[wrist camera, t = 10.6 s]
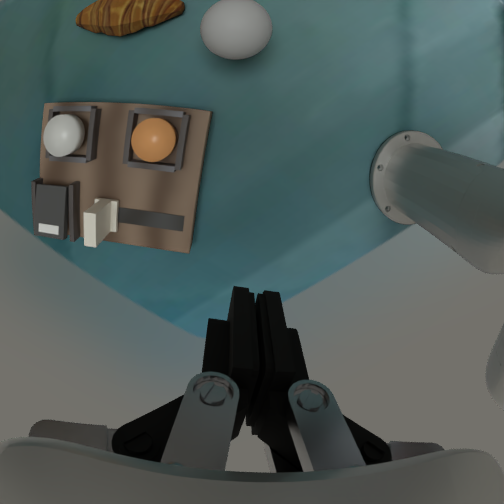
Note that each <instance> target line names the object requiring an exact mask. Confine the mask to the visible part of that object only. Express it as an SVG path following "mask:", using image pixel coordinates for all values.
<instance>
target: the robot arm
mask: <svg viewBox="0 0 504 504" xmlns="http://www.w3.org/2000/svg"><path fill="white" fill-rule="evenodd" d="M378 165H379V167H378ZM377 167H378V168H377ZM370 187H371V192H372V196H373V198H374V201H375V203H376V205H377V206H378V208H379V209H380V211H381V212H382V213H383V214H384V215H385V216H387V217H388V218H389V219H391V220H393V221H395V222H397V223H400V224H407V225H411V224H416V223H417V224H419V225H420V226H421V227H423V228H424V229H425V230H427V231H428V232H430V233H431V234H432V235H434V236H435V237H436V238H438V239H439V240H440V241H442V242H443V243H444V244H446V245H447V246H448V247H450V248H451V249H452V250H453V251H455V252H456V253H457V254H459V255H460V256H461V257H462V258H464V259H465V260H466V261H468V262H469V263H470V264H471V265H473V266H474V267H476V268H477V269H478V270H480V271H482V272H485V273H489V274H503V273H504V169H502V168H499V167H496V166H493V165H490V164H487V163H485V162H482V161H479V160H475V159H472V158H469V157H466V156H463V155H459V154H456V153H453V152H449V151H446V150H443V149H442V147H441V146H440V144H439V143H438V142H437V141H436V140H435V139H434V138H433V137H431V136H429V135H428V134H426V133H423V132H419V131H413V130H409V131H402V132H399V133H396V134H394V135H393V136H391V137H389V138H388V139H387V140H386V141H385V142H384V143H383V144H382V146H381V147H380V148H379V149H378V151H377V153H376V155H375V157H374V160H373V163H372V166H371V173H370ZM486 385H487V389H488V391H489V393H490V395H491V397H492V399H493V400H494V402H495V403H496V404H497V405H498V406H499V407H500V408H501V409H502V410H503V411H504V324H503V326H502V329H501V331H500V333H499V335H498V338H497V340H496V342H495V344H494V346H493V349H492V351H491V353H490V356H489V359H488V362H487V366H486ZM245 415H246V425H247V426H251V427H252V435H258V438H260V439H261V440H262V441H263V442H265V443H264V450H265V454H266V457H267V461H268V465H269V468H270V473H257V472H256V473H255V472H234V471H225V466H226V462H227V457H228V452H229V447H230V442H231V440H233V439H234V438H236V437H237V436H238V435H239V431H240V429H241V426H242V424H243V421H244V418H245ZM0 504H504V471H503V470H502V468H501V466H500V465H499V463H498V462H497V460H496V459H495V458H494V457H493V456H492V455H490V454H489V453H487V452H484V451H480V450H474V449H449V450H444V449H443V448H442V446H440V445H438V444H436V443H424V442H399V441H390V442H389V443H386V442H384V441H383V440H382V439H381V438H379V437H377V436H376V435H374V434H373V433H371V432H369V431H368V430H366V429H365V428H363V427H361V426H359V425H358V424H357V423H355V422H353V421H352V420H350V419H349V418H347V417H345V416H344V415H343V414H342V413H341V411H340V408H339V406H338V404H337V402H336V400H335V398H334V396H333V394H332V392H331V391H330V389H329V388H327V387H326V386H325V385H323V384H321V383H320V382H317V381H313V380H309V377H308V373H307V369H306V364H305V360H304V356H303V352H302V348H301V343H300V339H299V335H298V332H297V330H296V329H293V328H287V326H286V322H285V317H284V312H283V307H282V302H281V297H280V293H279V292H273V291H266V290H264V292H263V294H259V293H258V295H257V298H256V303H255V299H254V293H251V292H249V288H244V287H237V286H234V287H233V291H232V297H231V302H230V308H229V313H228V319H227V321H225V320H218V319H211V318H209V319H208V327H207V334H206V342H205V350H204V358H203V367H202V373H200V374H197V375H196V376H194V377H193V378H192V379H191V380H190V382H189V383H188V386H187V389H186V391H185V394H184V395H182V396H180V397H178V398H177V399H175V400H173V401H171V402H169V403H167V404H165V405H163V406H161V407H159V408H157V409H155V410H153V411H152V412H150V413H147V414H145V415H143V416H141V417H139V418H137V419H136V420H133V421H131V422H129V423H127V424H125V425H123V426H121V427H120V428H118V429H108V428H107V426H104V425H92V424H81V423H72V422H64V421H55V420H41V421H38V422H36V423H35V424H34V425H33V426H32V427H31V430H30V432H29V437H19V438H11V439H7V440H4V441H2V442H0Z"/></svg>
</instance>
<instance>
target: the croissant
mask: <svg viewBox="0 0 504 504" xmlns="http://www.w3.org/2000/svg"><path fill="white" fill-rule="evenodd" d="M184 8H185V6H184V2H182V1H180V0H98V1H96V2H94V3H93V4H91V5H89V6H88V7H86V8H85V9H84V10H82V11H81V12H80V13H79V14H78V15H77V17H76V24H77V26H79V27H82V28H84V29H86V30H89V31H91V32H94V33H99V32H103V33H104V34H106V35H112V36H123V35H126V34H129V33H133V32H136V31H138V30H140V29H142V28H144V27H149V26H154V25H156V24H159V23H161V22H163V21H166V20H168V19H171V18H173V17H176V16H179V15H181V14H182V13H183V11H184Z"/></svg>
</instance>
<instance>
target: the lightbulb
mask: <svg viewBox="0 0 504 504" xmlns="http://www.w3.org/2000/svg"><path fill="white" fill-rule="evenodd" d="M200 33H201V37H202V40H203V42H204V44H205V45H206V47H207V48H208V49H209V50H210V51H211V52H213V53H214V54H216V55H218V56H220V57H222V58H226V59H234V60H237V59H245V58H249V57H251V56H254V55H256V54H257V53H259V52H260V51H261V50H262V49H263V48H264V47H265V46H266V45H267V43H268V42H269V40H270V37H271V35H272V22H271V19H270V16H269V14H268V13H267V11H266V10H265V9H264V8H263V7H262V6H261V5H260V4H258V3H257V2H255V1H253V0H221V1H219V2H217V3H216V4H214V5H212V6H211V7H210V8H209V9H208V10H207V12H206V13H205V14H204V16H203V19H202V21H201V26H200Z"/></svg>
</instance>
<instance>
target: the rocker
mask: <svg viewBox="0 0 504 504" xmlns="http://www.w3.org/2000/svg"><path fill="white" fill-rule="evenodd" d="M68 209H69V186H61V185H51V184H37V188H36V204H35V235H39V236H44V237H50V238H56V239H62V240H64V239H66V238H67V230H68Z"/></svg>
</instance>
